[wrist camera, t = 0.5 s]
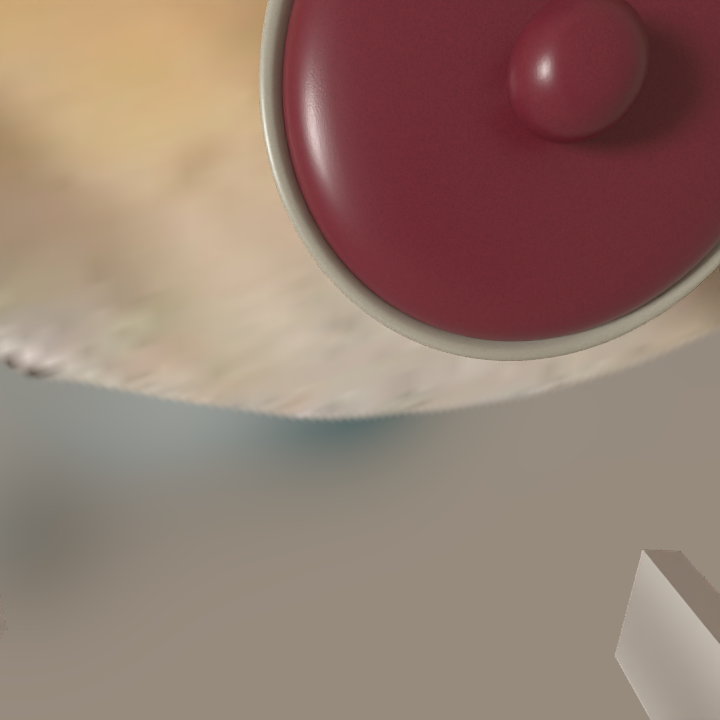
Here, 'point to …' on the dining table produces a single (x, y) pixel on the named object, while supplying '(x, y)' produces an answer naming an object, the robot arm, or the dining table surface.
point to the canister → (499, 161)
